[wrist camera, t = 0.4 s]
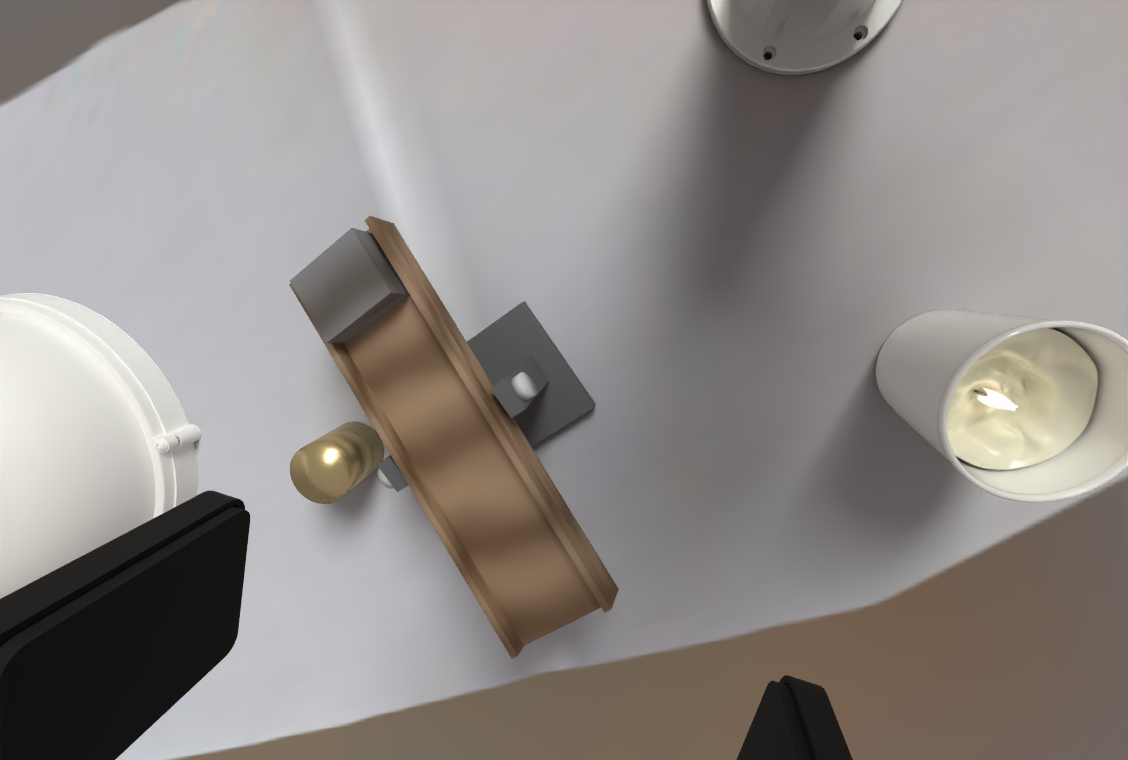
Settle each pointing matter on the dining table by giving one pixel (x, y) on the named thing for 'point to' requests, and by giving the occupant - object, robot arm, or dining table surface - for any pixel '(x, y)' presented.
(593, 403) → the beam stand
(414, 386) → the balance beam
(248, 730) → the dining table surface
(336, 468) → the brass weight
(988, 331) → the candle holder
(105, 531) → the dome cover
